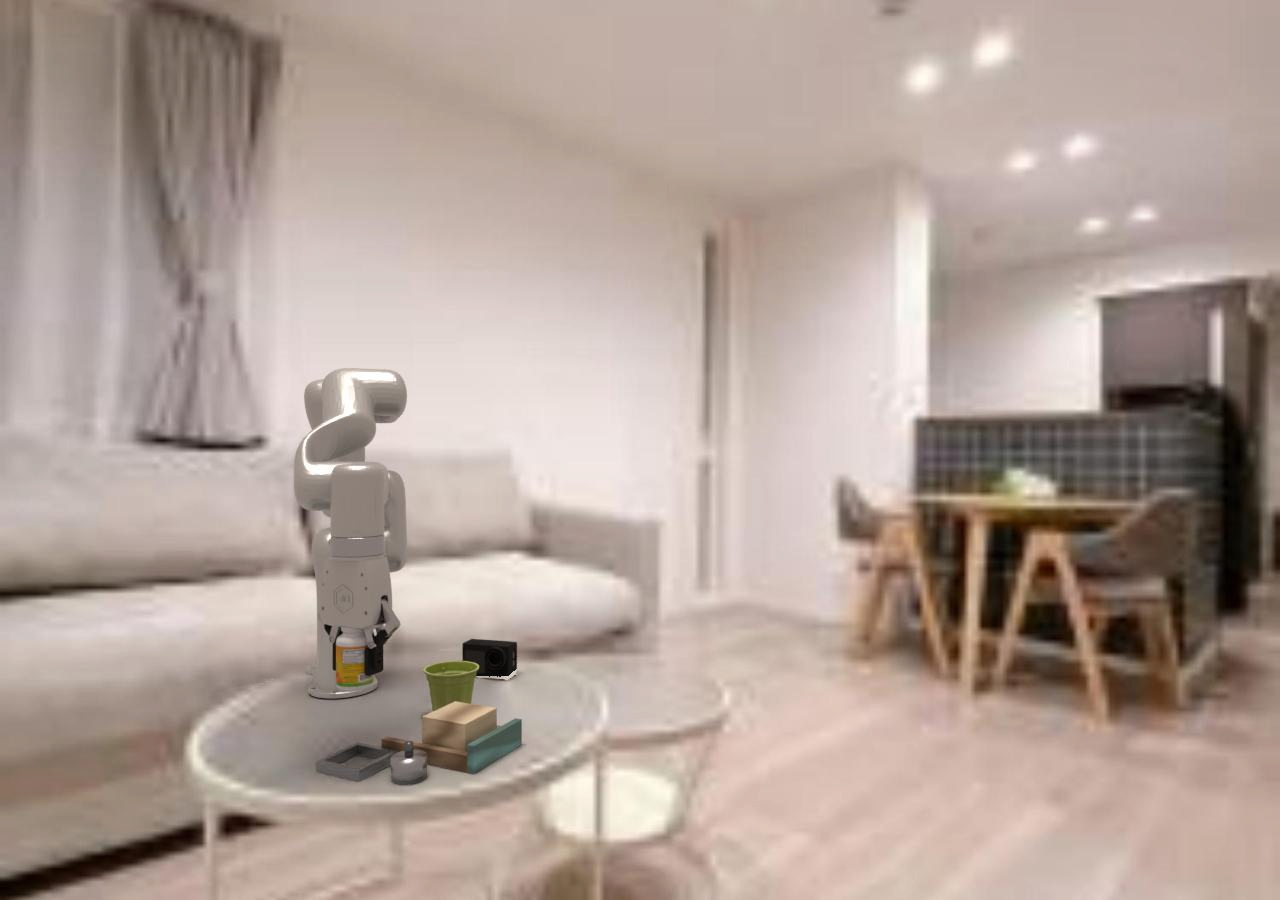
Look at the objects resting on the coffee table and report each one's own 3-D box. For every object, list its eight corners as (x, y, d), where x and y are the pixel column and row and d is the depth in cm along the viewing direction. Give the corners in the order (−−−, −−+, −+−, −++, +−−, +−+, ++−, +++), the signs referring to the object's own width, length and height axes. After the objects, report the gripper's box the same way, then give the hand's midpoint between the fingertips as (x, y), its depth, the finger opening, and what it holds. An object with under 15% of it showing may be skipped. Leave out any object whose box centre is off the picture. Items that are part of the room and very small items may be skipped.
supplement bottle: (342, 681, 119) (342, 616, 119) (378, 680, 120) (378, 615, 120) (331, 692, 114) (331, 624, 114) (369, 691, 114) (369, 623, 114)
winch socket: (315, 771, 115) (315, 737, 115) (357, 752, 123) (357, 719, 123) (402, 791, 108) (402, 755, 108) (441, 769, 116) (441, 735, 116)
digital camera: (458, 678, 162) (458, 644, 162) (471, 671, 167) (471, 638, 167) (505, 682, 159) (505, 647, 159) (517, 675, 164) (517, 641, 164)
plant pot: (423, 711, 142) (423, 662, 142) (477, 706, 144) (476, 658, 144) (423, 729, 133) (423, 677, 133) (481, 723, 135) (481, 672, 135)
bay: (381, 754, 121) (381, 715, 121) (434, 728, 133) (434, 692, 133) (474, 774, 114) (473, 732, 114) (521, 744, 126) (521, 706, 126)
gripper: (294, 547, 117) (294, 670, 117) (384, 554, 110) (385, 685, 110) (333, 542, 124) (334, 658, 124) (421, 547, 117) (421, 671, 117)
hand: (358, 669), depth 117 cm, fingers closed on supplement bottle, 5 cm apart
